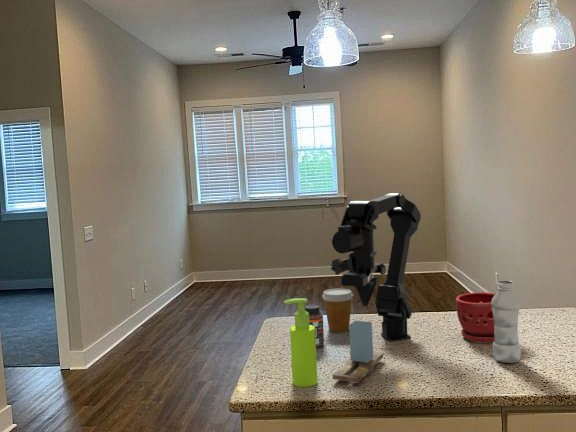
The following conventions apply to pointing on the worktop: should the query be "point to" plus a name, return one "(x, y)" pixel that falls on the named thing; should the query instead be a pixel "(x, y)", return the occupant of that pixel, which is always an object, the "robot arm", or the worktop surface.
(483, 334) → the plant pot
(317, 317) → the supplement bottle
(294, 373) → the soap dispenser
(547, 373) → the worktop surface
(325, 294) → the disposable coffee cup
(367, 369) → the slotted wooden board
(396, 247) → the robot arm
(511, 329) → the plastic bottle
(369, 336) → the rider
